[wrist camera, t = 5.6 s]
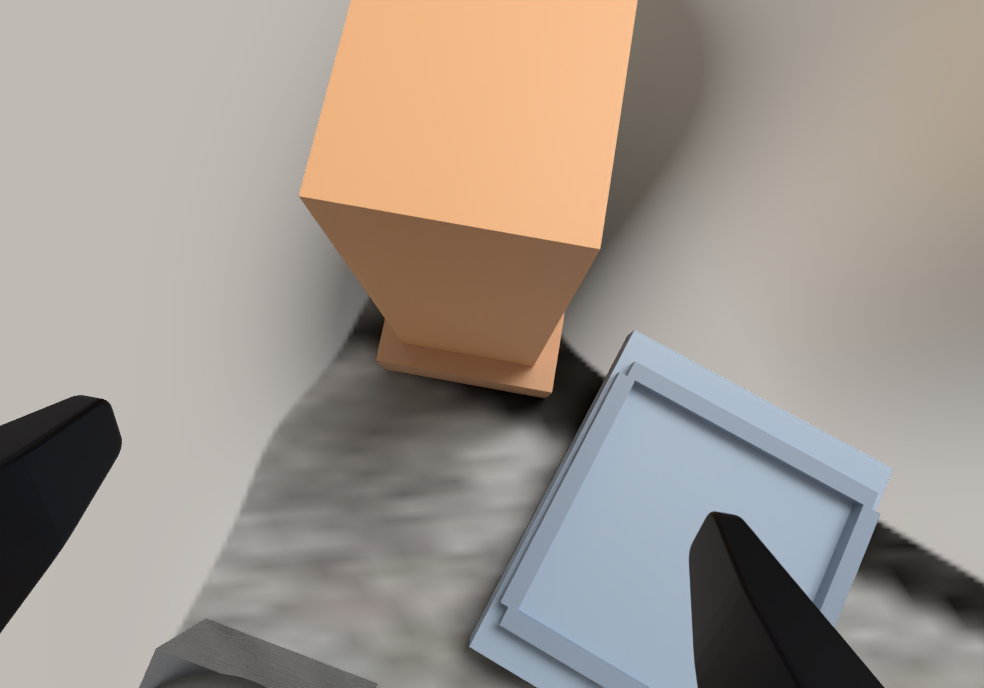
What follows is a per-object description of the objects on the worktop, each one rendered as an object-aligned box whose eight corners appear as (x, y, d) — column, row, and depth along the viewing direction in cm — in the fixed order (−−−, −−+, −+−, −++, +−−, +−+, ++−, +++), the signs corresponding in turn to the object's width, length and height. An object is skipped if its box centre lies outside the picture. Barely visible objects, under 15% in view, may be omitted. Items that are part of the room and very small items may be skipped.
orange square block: (545, 398, 21) (644, 306, 8) (385, 369, 21) (235, 234, 8) (569, 246, 22) (689, -42, 9) (418, 219, 22) (331, -102, 9)
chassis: (737, 798, 18) (759, 827, 17) (469, 637, 19) (469, 652, 18) (873, 467, 21) (903, 468, 19) (627, 335, 21) (638, 326, 20)
